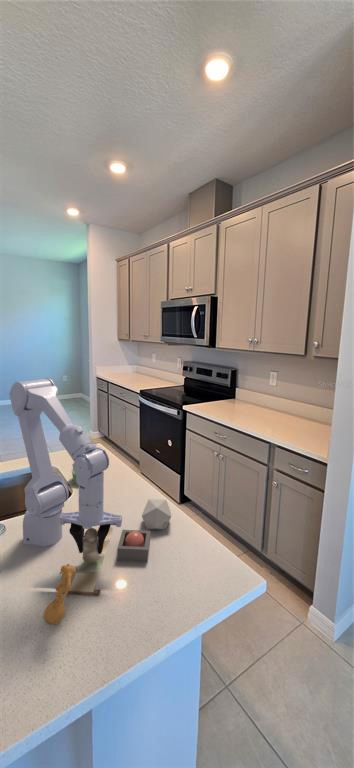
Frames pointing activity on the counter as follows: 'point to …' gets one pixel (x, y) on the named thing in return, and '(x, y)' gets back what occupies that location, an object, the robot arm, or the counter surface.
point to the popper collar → (133, 548)
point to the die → (156, 514)
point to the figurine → (59, 596)
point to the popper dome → (134, 539)
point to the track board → (88, 574)
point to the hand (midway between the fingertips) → (91, 550)
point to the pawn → (90, 546)
